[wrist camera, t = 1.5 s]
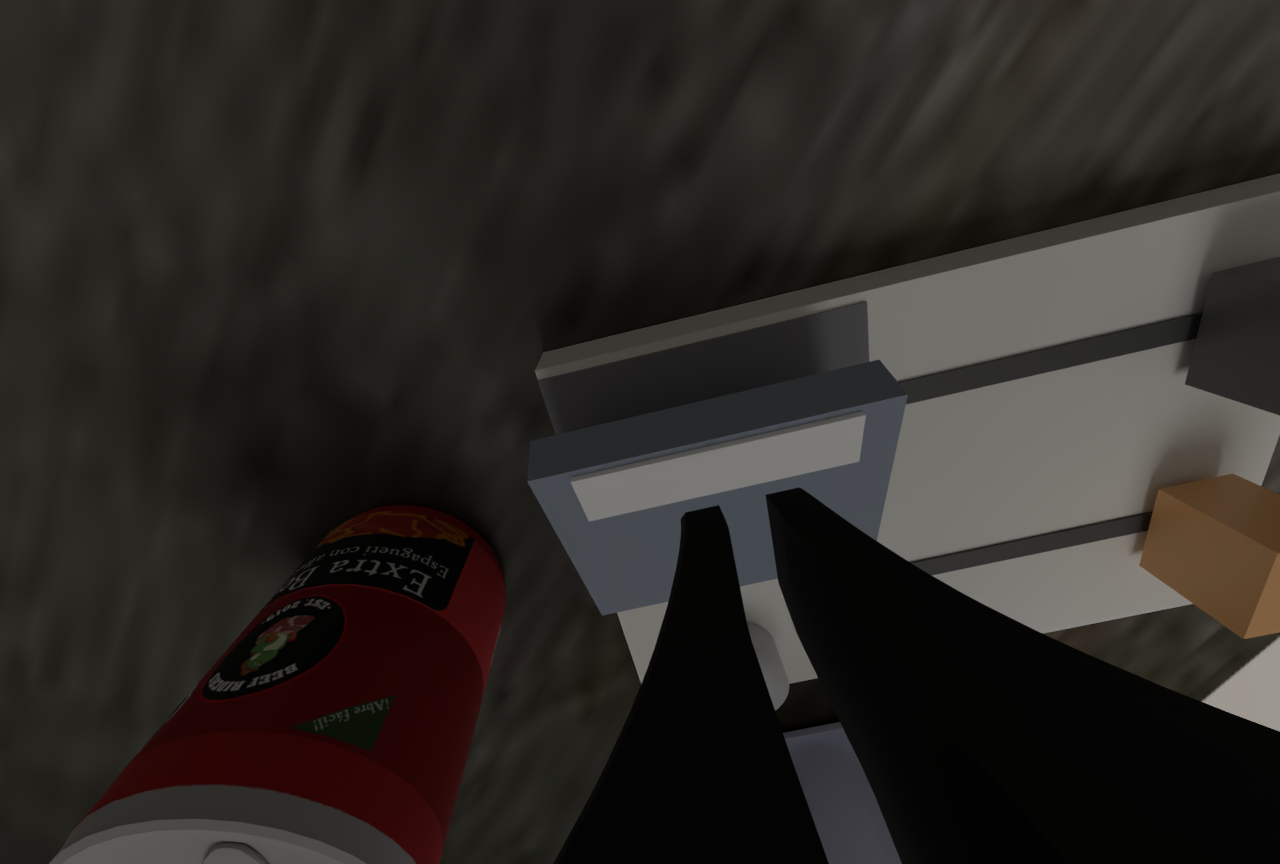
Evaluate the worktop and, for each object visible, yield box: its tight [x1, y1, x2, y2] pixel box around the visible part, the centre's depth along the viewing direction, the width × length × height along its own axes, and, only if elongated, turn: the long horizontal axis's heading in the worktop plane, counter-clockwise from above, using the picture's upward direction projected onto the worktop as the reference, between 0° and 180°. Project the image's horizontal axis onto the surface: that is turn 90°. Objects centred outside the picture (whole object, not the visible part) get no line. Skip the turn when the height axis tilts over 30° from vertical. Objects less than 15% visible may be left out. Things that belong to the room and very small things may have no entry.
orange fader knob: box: [1139, 473, 1280, 639], centre depth 17 cm, size 4×2×4 cm
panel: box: [535, 173, 1280, 711], centre depth 18 cm, size 16×24×4 cm, turn 103°
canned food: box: [49, 505, 506, 864], centre depth 16 cm, size 8×8×11 cm
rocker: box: [527, 359, 908, 616], centre depth 14 cm, size 7×9×2 cm
